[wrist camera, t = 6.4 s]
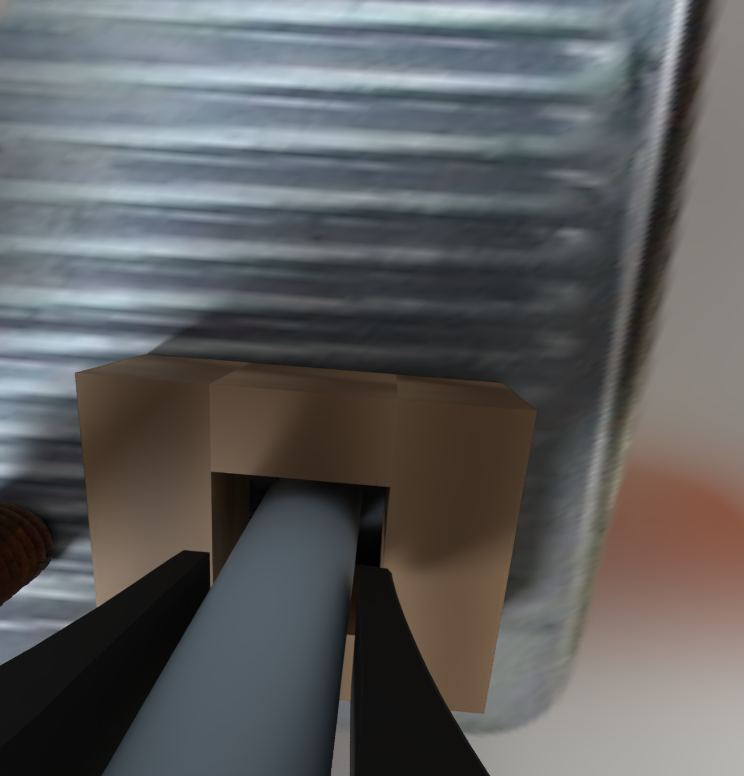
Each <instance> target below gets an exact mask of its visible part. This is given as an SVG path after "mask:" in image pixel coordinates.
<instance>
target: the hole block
mask: <svg viewBox="0 0 744 776" xmlns="http://www.w3.org/2000/svg"><path fill="white" fill-rule="evenodd" d="M75 379H76V390H77V401H78V411H79V422H80V433H81V443H82V454H83V465H84V475H85V486H86V496H87V507H88V518H89V528H90V539H91V550H92V560H93V571H94V581H95V592H96V603H97V607H99V606H100V605H102V604H103V603H105V602H106V601H108V600H109V599H111V598H112V597H114V596H115V595H117V594H118V593H120V592H121V591H123V590H124V589H126V588H127V587H129V586H130V585H132V584H133V583H135V582H136V581H138V580H139V579H141V578H142V577H144V576H145V575H147V574H148V573H149V572H151V571H152V570H154V569H155V568H157V567H158V566H160V565H161V564H163V563H164V562H166V561H167V560H169V559H170V558H172V557H173V556H175V555H176V554H178V553H180V552H181V551H183V550H190V551H201V552H210V588H211V587H212V585H213V583H214V582H215V580H216V578H217V576H218V575H219V573H220V571H221V570H222V568H223V566H224V564H225V563H226V561H227V559H228V557H229V556H230V554H231V552H232V551H233V549H234V547H235V545H236V544H237V542H238V540H239V539H240V537H241V535H242V533H243V532H244V530H245V528H246V527H247V525H248V523H249V486H250V475H257V476H269V477H280V478H292V479H304V480H315V481H327V482H338V483H350V484H361V485H373V486H384V487H386V491H385V502H384V513H383V524H382V535H381V546H380V557H379V566H371V565H360V564H355V567H354V576H353V585H352V594H351V602H350V611H349V620H348V628H347V637H346V646H345V654H344V663H343V672H342V681H341V689H340V698H339V700H347V701H350V695H351V678H352V666H353V653H354V640H355V628H356V615H357V602H358V590H359V579H360V570H361V566H367V567H378V568H388V569H389V571H390V572H391V573H392V577H393V581H394V585H395V589H396V592H397V596H398V599H399V602H400V604H401V607H402V610H403V613H404V616H405V618H406V621H407V623H408V626H409V628H410V630H411V633H412V635H413V637H414V640H415V642H416V644H417V647H418V649H419V651H420V653H421V655H422V658H423V660H424V662H425V664H426V666H427V668H428V670H429V672H430V674H431V676H432V678H433V680H434V682H435V684H436V686H437V688H438V690H439V692H440V693H441V695H442V697H443V699H444V701H445V703H446V704H447V706H448V708H449V710H450V711H461V712H471V713H481V714H484V711H485V706H486V700H487V694H488V688H489V683H490V677H491V671H492V666H493V660H494V654H495V649H496V643H497V637H498V632H499V626H500V620H501V614H502V609H503V603H504V597H505V592H506V586H507V580H508V575H509V569H510V563H511V558H512V552H513V546H514V540H515V535H516V529H517V523H518V518H519V512H520V506H521V501H522V495H523V489H524V484H525V478H526V472H527V466H528V461H529V455H530V449H531V444H532V438H533V432H534V427H535V421H536V415H537V410H535V409H534V408H533V407H532V406H530V405H529V404H528V403H527V402H525V401H524V400H523V399H522V398H520V397H519V396H518V395H517V394H516V393H514V392H513V391H512V390H511V389H509V388H508V387H507V386H506V385H504V384H503V383H496V382H484V381H472V380H459V379H447V378H435V377H422V376H410V375H398V374H386V373H373V372H361V371H349V370H336V369H324V368H312V367H300V366H287V365H275V364H263V363H250V362H238V361H226V360H213V359H201V358H189V357H177V356H164V355H152V354H145V355H141V356H137V357H133V358H129V359H126V360H122V361H118V362H114V363H111V364H107V365H103V366H99V367H95V368H92V369H88V370H84V371H80V372H76V373H75Z"/></svg>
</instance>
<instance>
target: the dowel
mask: <svg viewBox="0 0 744 776" xmlns="http://www.w3.org/2000/svg"><path fill="white" fill-rule="evenodd" d="M361 506H362V488H361V484H350V483H338V482H327V481H315V480H304V479H292V478H280V477H275V478H274V480H273V482H272V484H271V485H270V487H269V489H268V490H267V492H266V494H265V496H264V497H263V499H262V501H261V502H260V504H259V506H258V508H257V509H256V511H255V513H254V515H253V516H252V518H251V520H250V521H249V523H248V525H247V527H246V528H245V530H244V532H243V533H242V535H241V537H240V539H239V540H238V542H237V544H236V545H235V547H234V549H233V551H232V552H231V554H230V556H229V557H228V559H227V561H226V563H225V564H224V566H223V568H222V570H221V571H220V573H219V575H218V576H217V578H216V580H215V582H214V583H213V585H212V587H211V588H210V590H209V592H208V594H207V595H206V597H205V599H204V600H203V602H202V604H201V606H200V607H199V609H198V611H197V612H196V614H195V616H194V618H193V619H192V621H191V623H190V624H189V626H188V628H187V630H186V631H185V633H184V635H183V637H182V638H181V640H180V642H179V643H178V645H177V647H176V649H175V650H174V652H173V654H172V655H171V657H170V659H169V661H168V662H167V664H166V666H165V667H164V669H163V671H162V673H161V674H160V676H159V678H158V679H157V681H156V683H155V685H154V686H153V688H152V690H151V692H150V693H149V695H148V697H147V698H146V700H145V702H144V704H143V705H142V707H141V709H140V710H139V712H138V714H137V716H136V717H135V719H134V721H133V722H132V724H131V726H130V728H129V729H128V731H127V733H126V734H125V736H124V738H123V740H122V741H121V743H120V745H119V747H118V748H117V750H116V752H115V753H114V755H113V757H112V759H111V760H110V762H109V764H108V765H107V767H106V769H105V771H104V772H103V774H102V776H331V768H332V759H333V750H334V742H335V733H336V724H337V715H338V707H339V698H340V689H341V681H342V672H343V663H344V654H345V646H346V637H347V628H348V620H349V611H350V602H351V594H352V585H353V576H354V567H355V559H356V550H357V541H358V533H359V524H360V515H361Z"/></svg>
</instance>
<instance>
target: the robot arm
mask: <svg viewBox="0 0 744 776" xmlns="http://www.w3.org/2000/svg"><path fill="white" fill-rule="evenodd" d="M209 590H210V552H201V551H190V550H183V551H181V552H180V553H178V554H176V555H175V556H173V557H172V558H170V559H169V560H167V561H166V562H164V563H163V564H161V565H160V566H158V567H157V568H155V569H154V570H152V571H151V572H149V573H148V574H147V575H145V576H144V577H142V578H141V579H139V580H138V581H136V582H135V583H133V584H132V585H130V586H129V587H127V588H126V589H124V590H123V591H121V592H120V593H118V594H117V595H115V596H114V597H112V598H111V599H109V600H108V601H106V602H105V603H103V604H102V605H100V606H99V607H97V608H96V609H94V610H92V611H91V612H89V613H88V614H86V615H84V616H83V617H81V618H79V619H78V620H76V621H75V622H73V623H71V624H70V625H68V626H66V627H65V628H63V629H62V630H60V631H58V632H57V633H55V634H53V635H52V636H50V637H49V638H47V639H45V640H44V641H42V642H41V643H39V644H37V645H36V646H34V647H32V648H30V649H29V650H27V651H25V652H23V653H22V654H20V655H18V656H16V657H15V658H13V659H11V660H9V661H7V662H6V663H4V664H2V665H0V776H102V774H103V772H104V771H105V769H106V767H107V765H108V764H109V762H110V760H111V759H112V757H113V755H114V753H115V752H116V750H117V748H118V747H119V745H120V743H121V741H122V740H123V738H124V736H125V734H126V733H127V731H128V729H129V728H130V726H131V724H132V722H133V721H134V719H135V717H136V716H137V714H138V712H139V710H140V709H141V707H142V705H143V704H144V702H145V700H146V698H147V697H148V695H149V693H150V692H151V690H152V688H153V686H154V685H155V683H156V681H157V679H158V678H159V676H160V674H161V673H162V671H163V669H164V667H165V666H166V664H167V662H168V661H169V659H170V657H171V655H172V654H173V652H174V650H175V649H176V647H177V645H178V643H179V642H180V640H181V638H182V637H183V635H184V633H185V631H186V630H187V628H188V626H189V624H190V623H191V621H192V619H193V618H194V616H195V614H196V612H197V611H198V609H199V607H200V606H201V604H202V602H203V600H204V599H205V597H206V595H207V594H208V592H209ZM350 776H490V775H489V773H488V772H487V770H486V769H485V767H484V766H483V764H482V763H481V761H480V759H479V758H478V756H477V755H476V753H475V752H474V750H473V748H472V747H471V745H470V744H469V742H468V740H467V739H466V737H465V735H464V734H463V732H462V730H461V729H460V727H459V725H458V724H457V722H456V720H455V719H454V717H453V715H452V713H451V712H450V710H449V708H448V706H447V704H446V703H445V701H444V699H443V697H442V695H441V693H440V692H439V690H438V688H437V686H436V684H435V682H434V680H433V678H432V676H431V674H430V672H429V670H428V668H427V666H426V664H425V662H424V660H423V658H422V655H421V653H420V651H419V649H418V647H417V644H416V642H415V640H414V637H413V635H412V633H411V630H410V628H409V626H408V623H407V621H406V618H405V616H404V613H403V610H402V607H401V604H400V602H399V599H398V596H397V592H396V589H395V585H394V581H393V577H392V573H391V572H390V571H389V569H388V568H378V567H367V566H361V570H360V579H359V590H358V602H357V615H356V628H355V640H354V653H353V666H352V678H351V695H350Z"/></svg>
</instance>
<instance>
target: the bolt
mask: <svg viewBox="0 0 744 776" xmlns="http://www.w3.org/2000/svg"><path fill="white" fill-rule="evenodd" d="M52 548H53V541H52V538H51V535H50V532H49V530H48V527H47V525H46V523H45V522H44V521H43V520H42V519H41V518H40V517H38V516H36V515H35V514H33V513H31V512H30V511H28V510H26V509H24V508H21V507H19V506H17V505H15V504H11V503H8V502H3V501H0V607H1V606H2V604H3V603H4V602H5V601H7V600H9V599H10V598H11V597H12V596H13V595H15V594H16V593H17V592H18V591H19V590H20V589H21V588H23V587H24V586H25V585H27V584H29V583H30V581H32V580H33V579H35V578H36V577H37V576H38V575H39V574H40V573H41V571H42V570H44V569H45V568H46V567H47V566H48V564H49V563H50V561H51V558H52V555H51V554H46V552H47V551H50V550H52Z"/></svg>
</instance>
